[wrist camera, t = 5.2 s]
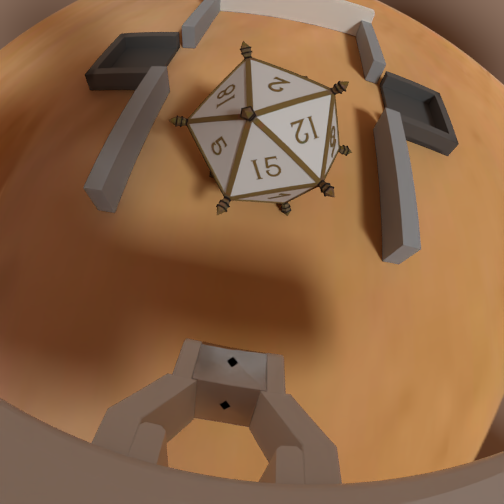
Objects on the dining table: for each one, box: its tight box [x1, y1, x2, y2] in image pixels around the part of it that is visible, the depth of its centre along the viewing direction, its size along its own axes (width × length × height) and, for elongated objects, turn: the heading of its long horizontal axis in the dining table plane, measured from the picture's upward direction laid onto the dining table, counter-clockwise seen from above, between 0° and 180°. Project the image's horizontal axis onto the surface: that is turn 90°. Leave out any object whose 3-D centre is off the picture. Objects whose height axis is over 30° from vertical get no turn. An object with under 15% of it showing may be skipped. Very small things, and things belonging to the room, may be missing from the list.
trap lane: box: [84, 0, 458, 264], centre depth 20 cm, size 31×29×4 cm
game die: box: [169, 41, 352, 216], centre depth 15 cm, size 9×8×10 cm
